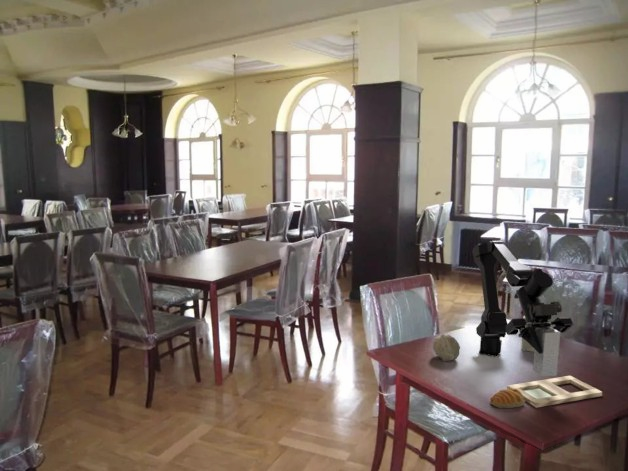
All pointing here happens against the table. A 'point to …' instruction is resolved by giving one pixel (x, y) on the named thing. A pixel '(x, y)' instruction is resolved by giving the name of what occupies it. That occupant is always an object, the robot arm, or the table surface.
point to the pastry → (507, 398)
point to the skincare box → (526, 344)
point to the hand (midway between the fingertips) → (548, 352)
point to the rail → (554, 391)
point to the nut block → (547, 351)
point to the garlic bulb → (446, 347)
